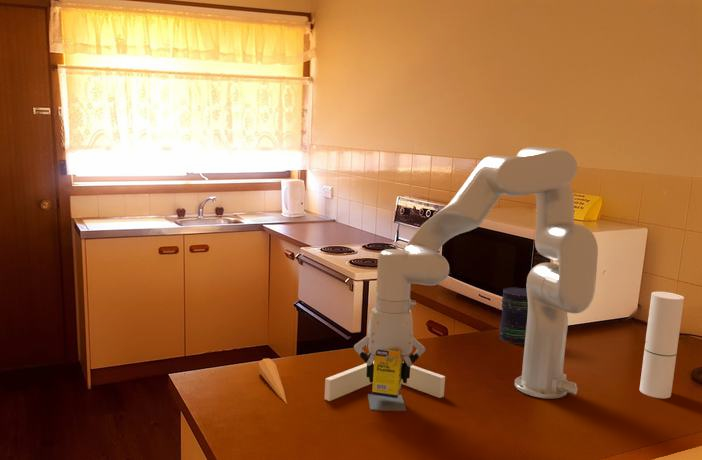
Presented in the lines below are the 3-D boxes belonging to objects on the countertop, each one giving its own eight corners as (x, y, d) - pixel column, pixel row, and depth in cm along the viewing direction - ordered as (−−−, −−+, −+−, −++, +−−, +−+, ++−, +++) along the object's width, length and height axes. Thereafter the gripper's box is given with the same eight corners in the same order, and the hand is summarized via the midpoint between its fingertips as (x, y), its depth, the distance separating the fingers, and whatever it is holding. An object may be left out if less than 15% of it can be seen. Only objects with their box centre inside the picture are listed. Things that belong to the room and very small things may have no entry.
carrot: (259, 375, 162) (253, 360, 160) (276, 367, 163) (270, 352, 161) (280, 416, 144) (274, 400, 142) (299, 407, 145) (293, 391, 143)
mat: (401, 396, 151) (401, 394, 151) (406, 411, 143) (406, 409, 143) (367, 395, 151) (367, 394, 151) (370, 410, 143) (370, 409, 143)
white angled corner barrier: (443, 396, 152) (445, 376, 151) (385, 425, 136) (387, 403, 135) (384, 374, 164) (385, 355, 163) (324, 399, 147) (325, 378, 147)
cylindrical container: (668, 389, 163) (681, 293, 159) (672, 400, 156) (686, 300, 152) (638, 384, 165) (650, 290, 161) (640, 395, 158) (653, 296, 154)
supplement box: (397, 398, 143) (401, 352, 141) (371, 395, 144) (374, 348, 142) (401, 388, 149) (404, 343, 147) (376, 385, 150) (379, 340, 148)
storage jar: (497, 332, 203) (501, 286, 200) (529, 335, 201) (533, 288, 199) (500, 342, 193) (504, 294, 191) (533, 345, 192) (538, 297, 189)
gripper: (427, 301, 147) (422, 375, 150) (352, 299, 146) (348, 373, 149) (433, 311, 140) (428, 388, 143) (354, 308, 139) (350, 386, 142)
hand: (387, 380), depth 146 cm, fingers closed on supplement box, 7 cm apart
